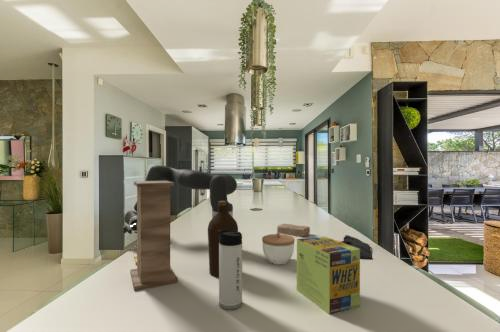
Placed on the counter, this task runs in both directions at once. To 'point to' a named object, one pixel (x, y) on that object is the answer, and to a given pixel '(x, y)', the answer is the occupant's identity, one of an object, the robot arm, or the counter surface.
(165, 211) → the stand
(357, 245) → the dark slate chunk
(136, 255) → the paddle
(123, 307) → the counter surface
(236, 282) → the travel mug
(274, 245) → the lidded bowl
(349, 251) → the protein box
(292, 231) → the brick
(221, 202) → the olive oil
